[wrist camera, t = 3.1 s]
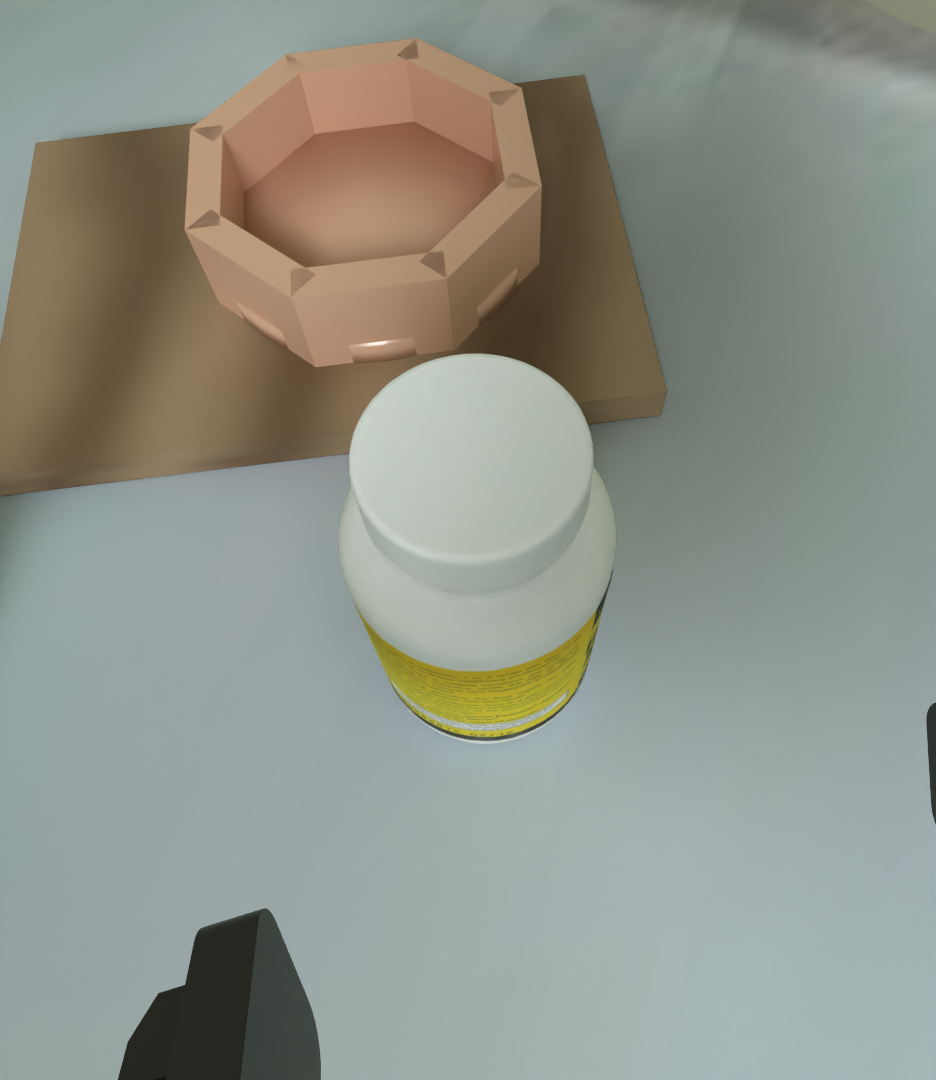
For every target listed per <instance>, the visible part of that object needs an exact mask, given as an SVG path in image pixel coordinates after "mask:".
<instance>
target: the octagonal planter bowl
mask: <svg viewBox="0 0 936 1080" xmlns="http://www.w3.org/2000/svg"><path fill="white" fill-rule="evenodd" d="M541 193H542V184H541V180H540V175H539V170H538V165H537V160H536V155H535V151H534V146H533V141H532V136H531V131H530V126H529V122H528V117H527V112H526V107H525V102H524V97H523V92H522V88H521V87H518V86H516V85H514V84H512V83H510V82H508V81H506V80H504V79H502V78H499V77H497V76H495V75H493V74H491V73H489V72H487V71H485V70H483V69H480V68H478V67H476V66H474V65H472V64H470V63H468V62H466V61H464V60H461V59H459V58H457V57H455V56H453V55H451V54H449V53H447V52H445V51H442V50H440V49H438V48H436V47H434V46H432V45H430V44H428V43H425V42H423V41H421V40H419V39H416V38H414V39H406V40H398V41H390V42H382V43H374V44H366V45H358V46H350V47H342V48H333V49H325V50H317V51H309V52H301V53H293V54H286V55H285V56H284V57H282V58H281V59H280V60H278V61H277V62H276V63H275V64H273V65H272V66H271V67H269V68H268V69H267V70H266V71H264V72H263V73H262V74H260V75H259V76H258V77H257V78H255V79H254V80H253V81H251V82H250V83H249V84H248V85H246V86H245V87H244V88H242V89H241V90H240V91H239V92H237V93H236V94H235V95H233V96H232V97H231V98H230V99H228V100H227V101H226V102H224V103H223V104H222V105H221V106H219V107H218V108H217V109H215V110H214V111H213V112H212V113H210V114H209V115H208V116H206V117H205V118H204V119H203V120H201V121H200V122H199V123H197V124H196V125H195V126H194V127H192V128H191V129H190V143H189V161H188V178H187V196H186V213H185V232H186V234H187V236H188V238H189V240H190V242H191V244H192V246H193V248H194V251H195V253H196V255H197V257H198V259H199V261H200V263H201V265H202V267H203V269H204V272H205V274H206V276H207V278H208V280H209V282H210V284H211V286H212V288H213V291H214V293H215V295H216V297H217V299H218V301H219V303H220V304H222V305H223V306H225V307H226V308H228V309H229V310H231V311H232V312H234V313H235V314H237V315H238V316H240V317H241V318H243V319H244V320H245V321H246V322H247V323H248V324H249V325H250V326H251V327H253V328H254V329H255V330H256V331H258V332H259V333H260V334H261V335H263V336H264V337H266V338H268V339H269V340H271V341H273V342H275V343H276V344H278V345H280V346H282V347H284V348H287V349H289V350H291V351H292V352H294V353H295V354H297V355H298V356H300V357H301V358H303V359H304V360H306V361H307V362H309V363H310V364H312V365H313V366H315V367H322V366H330V365H338V364H346V363H369V362H384V361H390V360H396V359H402V358H408V357H411V356H415V355H420V354H428V353H436V352H444V351H452V350H456V349H457V347H458V346H459V345H460V344H461V343H462V342H463V341H464V340H465V339H466V338H467V337H468V336H469V335H470V334H471V333H472V332H473V331H474V330H475V329H476V328H477V327H478V326H479V325H481V324H482V323H483V322H485V321H486V320H487V319H488V318H489V317H491V316H492V315H493V314H494V313H495V312H496V311H497V310H498V309H499V308H501V306H502V305H503V304H504V303H505V302H506V301H507V299H508V298H509V297H510V296H511V295H512V294H513V292H514V291H515V289H516V287H517V286H518V285H519V284H520V283H521V282H522V281H523V280H524V279H525V278H526V277H527V276H528V275H529V274H530V272H531V271H532V270H533V269H534V268H535V267H536V266H537V265H538V264H539V259H540V226H541Z"/></svg>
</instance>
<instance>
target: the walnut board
mask: <svg viewBox="0 0 936 1080" xmlns="http://www.w3.org/2000/svg"><path fill="white" fill-rule="evenodd" d="M514 85H516V86H518V87H521V88H522V92H523V97H524V102H525V107H526V112H527V117H528V122H529V126H530V131H531V136H532V141H533V146H534V151H535V155H536V160H537V165H538V170H539V175H540V180H541V184H542V193H541V226H540V259H539V264H538V265H537V266H536V267H535V268H534V269H533V270H532V271H531V272H530V274H529V275H528V276H527V277H526V278H525V279H524V280H523V281H522V282H521V283H520V284H519V285H518V286H517V287H516V289H515V291H514V292H513V294H512V295H511V296H510V297H509V298H508V299H507V301H506V302H505V303H504V304H503V305H502V306H501V308H499V309H498V310H497V311H496V312H495V313H494V314H493V315H492V316H491V317H489V318H488V319H487V320H486V321H485V322H483V323H482V324H481V325H479V326H478V327H477V328H476V329H475V330H474V331H473V332H472V333H471V334H470V335H469V336H468V337H467V338H466V339H465V340H464V341H463V342H462V343H461V344H460V345H459V346H458V347H457V349H456V350H452V351H444V352H436V353H428V354H420V355H415V356H411V357H408V358H402V359H396V360H390V361H384V362H369V363H346V364H338V365H330V366H322V367H315V366H313V365H312V364H310V363H309V362H307V361H306V360H304V359H303V358H301V357H300V356H298V355H297V354H295V353H294V352H292V351H291V350H289V349H287V348H284V347H282V346H280V345H278V344H276V343H275V342H273V341H271V340H269V339H268V338H266V337H264V336H263V335H261V334H260V333H259V332H258V331H256V330H255V329H254V328H253V327H251V326H250V325H249V324H248V323H247V322H246V321H245V320H244V319H243V318H241V317H240V316H238V315H237V314H235V313H234V312H232V311H231V310H229V309H228V308H226V307H225V306H223V305H222V304H220V303H219V301H218V299H217V297H216V295H215V293H214V291H213V288H212V286H211V284H210V282H209V280H208V278H207V276H206V274H205V272H204V269H203V267H202V265H201V263H200V261H199V259H198V257H197V255H196V253H195V251H194V248H193V246H192V244H191V242H190V240H189V238H188V236H187V234H186V232H185V213H186V196H187V178H188V161H189V143H190V129H191V128H192V127H194V126H195V125H196V124H197V123H193V124H184V125H176V126H168V127H160V128H152V129H144V130H136V131H128V132H120V133H112V134H104V135H96V136H88V137H80V138H71V139H63V140H55V141H47V142H39V143H36V144H35V150H34V156H33V161H32V167H31V173H30V179H29V184H28V190H27V196H26V201H25V207H24V213H23V219H22V224H21V230H20V236H19V241H18V247H17V253H16V259H15V264H14V270H13V276H12V281H11V287H10V293H9V299H8V304H7V310H6V316H5V321H4V327H3V333H2V339H1V344H0V495H1V496H4V495H12V494H20V493H29V492H37V491H45V490H53V489H61V488H69V487H78V486H86V485H94V484H102V483H110V482H119V481H127V480H135V479H143V478H151V477H159V476H168V475H176V474H184V473H192V472H200V471H208V470H217V469H225V468H233V467H241V466H249V465H258V464H266V463H274V462H282V461H290V460H298V459H307V458H315V457H323V456H331V455H339V454H347V453H349V451H350V446H351V441H352V437H353V433H354V431H355V428H356V425H357V423H358V421H359V419H360V417H361V416H362V414H363V412H364V410H365V409H366V407H367V406H368V405H369V403H370V402H371V400H372V399H373V398H374V397H375V396H376V395H377V394H378V393H379V392H380V391H381V390H382V389H383V388H384V387H385V386H386V385H387V384H389V383H390V382H391V381H392V380H394V379H395V378H397V377H398V376H400V375H401V374H403V373H404V372H406V371H408V370H410V369H412V368H413V367H416V366H418V365H420V364H422V363H425V362H428V361H431V360H434V359H438V358H443V357H447V356H452V355H459V354H491V355H498V356H504V357H509V358H512V359H515V360H519V361H522V362H525V363H527V364H529V365H531V366H533V367H535V368H537V369H539V370H541V371H542V372H544V373H545V374H547V375H549V376H550V377H552V378H553V379H554V380H555V381H556V382H558V383H559V384H560V385H561V386H562V387H564V388H565V389H566V390H567V392H568V393H569V394H570V395H571V396H572V397H573V399H574V400H575V401H576V403H577V404H578V406H579V407H580V409H581V411H582V413H583V415H584V417H585V419H586V422H587V424H593V423H601V422H609V421H617V420H625V419H634V418H642V417H650V416H658V415H661V411H662V407H663V404H664V400H665V396H666V393H667V390H666V387H665V383H664V379H663V375H662V371H661V367H660V363H659V360H658V356H657V352H656V348H655V344H654V340H653V336H652V333H651V329H650V325H649V321H648V317H647V313H646V309H645V306H644V302H643V298H642V294H641V290H640V286H639V283H638V279H637V275H636V271H635V267H634V263H633V259H632V256H631V252H630V248H629V244H628V240H627V236H626V232H625V229H624V225H623V221H622V217H621V213H620V209H619V205H618V202H617V198H616V194H615V190H614V186H613V182H612V179H611V175H610V171H609V167H608V163H607V159H606V155H605V152H604V148H603V144H602V140H601V136H600V132H599V128H598V125H597V121H596V117H595V113H594V109H593V105H592V101H591V98H590V94H589V90H588V86H587V82H586V78H585V75H580V76H572V77H564V78H556V79H548V80H540V81H532V82H524V83H515V84H514Z"/></svg>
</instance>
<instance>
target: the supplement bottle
mask: <svg viewBox="0 0 936 1080" xmlns="http://www.w3.org/2000/svg"><path fill="white" fill-rule="evenodd" d="M593 465H594V451H593V442H592V437H591V434H590V430H589V427H588V424H587V422H586V419H585V417H584V415H583V413H582V411H581V409H580V407H579V406H578V404H577V403H576V401H575V400H574V399H573V397H572V396H571V395H570V394H569V393H568V392H567V390H566V389H565V388H564V387H562V386H561V385H560V384H559V383H558V382H556V381H555V380H554V379H553V378H552V377H550V376H549V375H547V374H545V373H544V372H542V371H541V370H539V369H537V368H535V367H533V366H531V365H529V364H527V363H525V362H522V361H519V360H515V359H512V358H509V357H504V356H498V355H491V354H459V355H452V356H447V357H443V358H438V359H434V360H431V361H428V362H425V363H422V364H420V365H418V366H416V367H413V368H412V369H410V370H408V371H406V372H404V373H403V374H401V375H400V376H398V377H397V378H395V379H394V380H392V381H391V382H390V383H389V384H387V385H386V386H385V387H384V388H383V389H382V390H381V391H380V392H379V393H378V394H377V395H376V396H375V397H374V398H373V399H372V400H371V402H370V403H369V405H368V406H367V407H366V409H365V410H364V412H363V414H362V416H361V417H360V419H359V421H358V423H357V425H356V428H355V431H354V433H353V437H352V441H351V446H350V451H349V475H350V481H351V487H350V489H349V491H348V494H347V497H346V499H345V502H344V505H343V509H342V512H341V518H340V524H339V539H338V547H339V555H340V562H341V567H342V571H343V575H344V578H345V581H346V584H347V586H348V589H349V591H350V594H351V596H352V599H353V601H354V604H355V606H356V608H357V610H358V613H359V615H360V617H361V619H362V621H363V623H364V626H365V628H366V630H367V632H368V634H369V637H370V639H371V641H372V643H373V645H374V648H375V650H376V652H377V654H378V656H379V658H380V660H381V663H382V665H383V667H384V669H385V671H386V673H387V676H388V678H389V681H390V682H391V684H392V686H393V688H394V690H395V692H396V693H397V695H398V696H399V698H400V699H401V701H402V702H403V703H404V705H405V706H406V707H407V708H408V709H409V710H410V711H411V713H412V714H413V715H415V716H416V717H417V718H418V719H419V720H420V721H421V722H423V723H424V724H425V725H427V726H428V727H430V728H431V729H433V730H435V731H437V732H438V733H441V734H443V735H445V736H447V737H450V738H453V739H457V740H460V741H465V742H470V743H480V744H492V743H501V742H507V741H512V740H515V739H518V738H521V737H524V736H526V735H528V734H531V733H533V732H535V731H537V730H538V729H540V728H542V727H543V726H545V725H546V724H548V723H549V722H550V721H552V720H553V719H554V718H555V717H557V716H558V715H559V714H560V713H561V712H562V711H563V710H564V709H565V708H566V706H567V705H568V704H569V703H570V701H571V700H572V698H573V697H574V695H575V693H576V692H577V690H578V688H579V686H580V684H581V682H582V680H583V677H584V674H585V672H586V669H587V665H588V662H589V659H590V655H591V651H592V647H593V644H594V640H595V636H596V633H597V629H598V624H599V620H600V616H601V612H602V608H603V605H604V601H605V598H606V595H607V591H608V588H609V585H610V581H611V576H612V573H613V564H614V558H615V552H616V523H615V516H614V511H613V507H612V504H611V500H610V497H609V495H608V492H607V490H606V487H605V485H604V483H603V481H602V479H601V477H600V476H599V474H598V472H597V471H596V469H595V468H594V466H593Z"/></svg>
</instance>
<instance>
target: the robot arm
mask: <svg viewBox="0 0 936 1080" xmlns="http://www.w3.org/2000/svg"><path fill="white" fill-rule="evenodd" d="M927 739H928V756H929V773H930V790H931V806H932V813H933V817H934V820H935V823H936V703H934V704H932V705H931V706H930V708H929V710H928V712H927ZM118 1080H321V1061H320V1048H319V1040H318V1034H317V1029H316V1024H315V1020H314V1016H313V1012H312V1009H311V1006H310V1003H309V1001H308V998H307V996H306V993H305V991H304V989H303V986H302V984H301V981H300V979H299V976H298V974H297V972H296V969H295V967H294V964H293V962H292V959H291V957H290V955H289V952H288V950H287V947H286V945H285V942H284V940H283V938H282V935H281V933H280V930H279V928H278V925H277V923H276V921H275V919H274V917H273V915H272V913H271V912H270V911H269V910H268V909H265V908H264V909H261V910H258V911H255V912H251V913H248V914H245V915H242V916H238V917H235V918H232V919H229V920H225V921H222V922H219V923H216V924H213V925H209V926H206V927H203V928H201V929H200V930H199V931H198V932H197V935H196V937H195V941H194V945H193V950H192V955H191V960H190V964H189V969H188V974H187V979H186V984H185V985H184V986H180V987H177V988H174V989H171V990H168V991H164V992H161V993H158V995H157V996H156V998H155V1000H154V1001H153V1003H152V1004H151V1006H150V1008H149V1009H148V1011H147V1012H146V1014H145V1016H144V1017H143V1019H142V1020H141V1022H140V1024H139V1025H138V1027H137V1028H136V1030H135V1032H134V1033H133V1035H132V1036H131V1038H130V1039H129V1041H128V1044H127V1048H126V1051H125V1055H124V1059H123V1063H122V1066H121V1070H120V1074H119V1078H118Z"/></svg>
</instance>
